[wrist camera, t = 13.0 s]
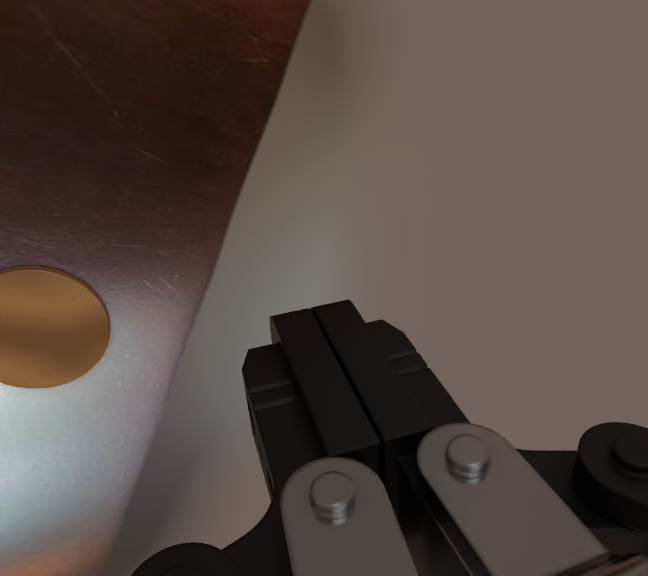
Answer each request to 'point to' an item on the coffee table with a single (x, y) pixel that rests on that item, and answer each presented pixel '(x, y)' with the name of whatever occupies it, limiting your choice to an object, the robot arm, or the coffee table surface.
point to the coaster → (48, 327)
